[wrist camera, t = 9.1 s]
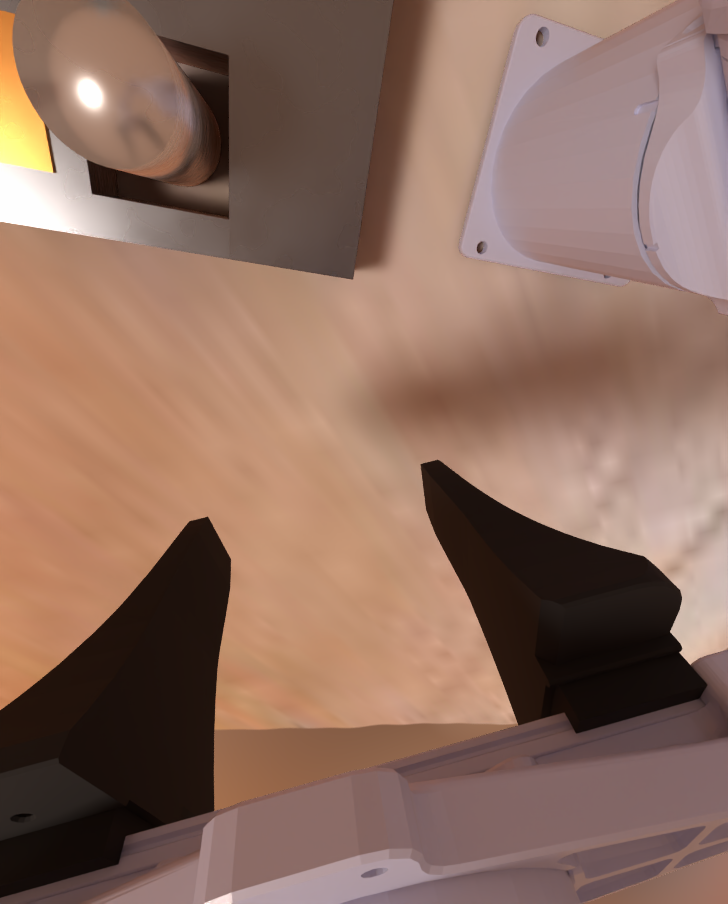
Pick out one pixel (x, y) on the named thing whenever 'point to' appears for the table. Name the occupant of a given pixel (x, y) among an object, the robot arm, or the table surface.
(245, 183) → the plate
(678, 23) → the robot arm
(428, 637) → the table surface
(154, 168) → the steel peg
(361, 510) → the table surface
